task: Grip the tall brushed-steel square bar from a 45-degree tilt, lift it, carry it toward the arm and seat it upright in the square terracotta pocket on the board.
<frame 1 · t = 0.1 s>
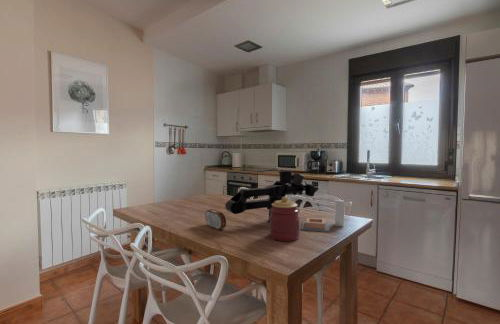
hand: (312, 187, 149), 17 cm above the table, fingers open, 9 cm apart
tin: (215, 228, 128), on the table
pocket board: (315, 227, 129), on the table
steel square bar: (339, 225, 132), on the table
canister: (284, 237, 114), on the table
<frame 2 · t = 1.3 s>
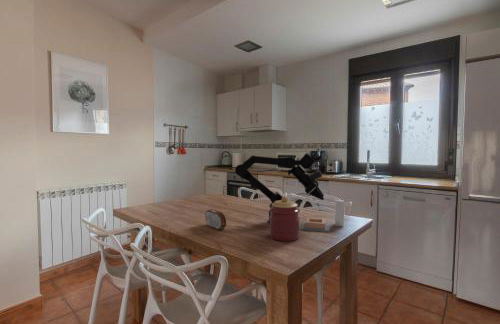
hand: (323, 197, 134), 13 cm above the table, fingers open, 9 cm apart
nothing on the table moved.
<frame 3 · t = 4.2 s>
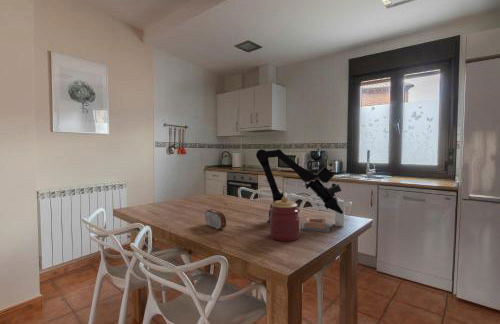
hand: (342, 212, 132), 7 cm above the table, fingers closed on steel square bar, 4 cm apart
steel square bar: (339, 225, 132), on the table, touching gripper
everything else where it was.
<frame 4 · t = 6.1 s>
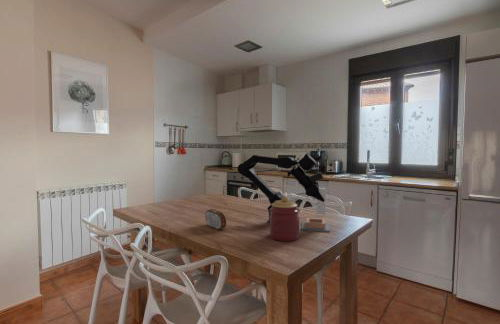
hand: (323, 200, 129), 13 cm above the table, fingers closed on steel square bar, 4 cm apart
steel square bar: (320, 213, 130), point 7 cm above the table, touching gripper
everything else where it was.
when the fingers open (8 cm above the table, at t = 8.2 s): steel square bar drops 1 cm, resting on pocket board.
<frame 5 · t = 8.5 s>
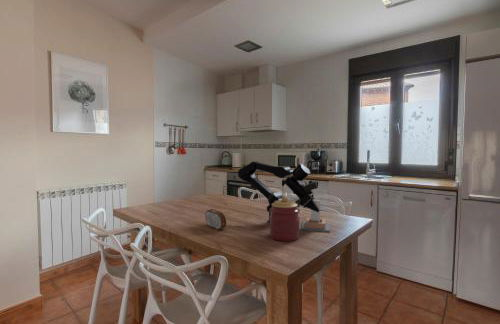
hand: (318, 210, 128), 9 cm above the table, fingers open, 6 cm apart
steel square bar: (315, 225, 129), point 1 cm above the table, touching pocket board
everything else where it was.
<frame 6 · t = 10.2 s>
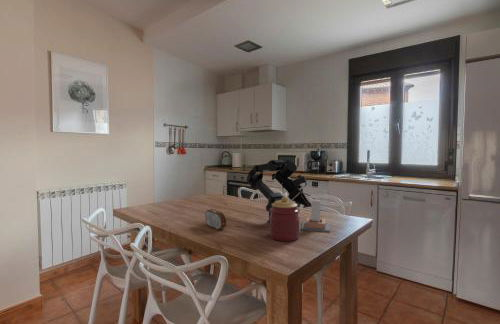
hand: (307, 203, 130), 11 cm above the table, fingers open, 9 cm apart
nothing on the table moved.
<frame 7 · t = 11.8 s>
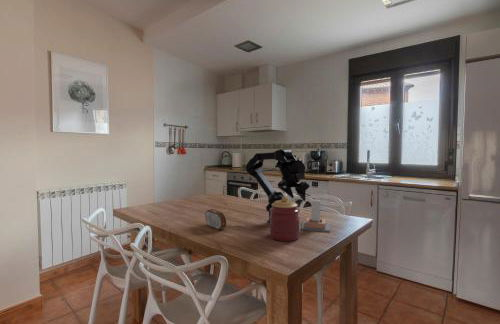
hand: (298, 199, 137), 12 cm above the table, fingers open, 9 cm apart
nothing on the table moved.
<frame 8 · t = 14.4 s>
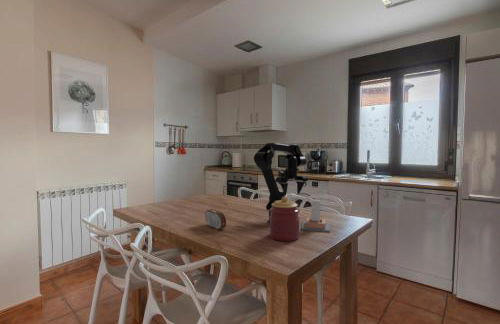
hand: (291, 194, 147), 13 cm above the table, fingers open, 9 cm apart
nothing on the table moved.
at the end: steel square bar 0.0 cm off-centre on the pocket board, point 0.8 cm above the pocket board's base; steel square bar tilted 0°; the gripper is holding nothing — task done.
